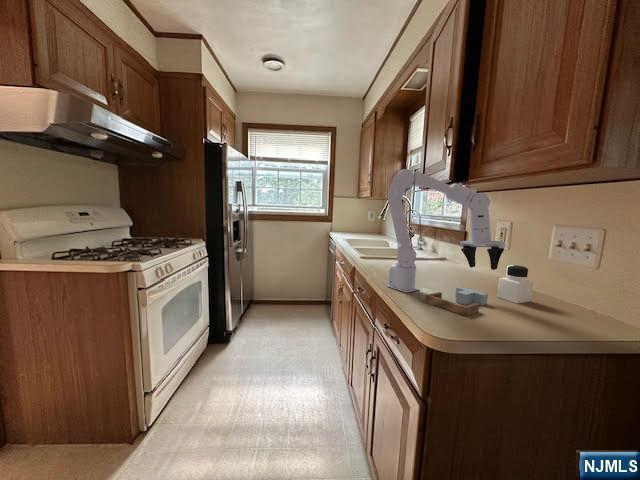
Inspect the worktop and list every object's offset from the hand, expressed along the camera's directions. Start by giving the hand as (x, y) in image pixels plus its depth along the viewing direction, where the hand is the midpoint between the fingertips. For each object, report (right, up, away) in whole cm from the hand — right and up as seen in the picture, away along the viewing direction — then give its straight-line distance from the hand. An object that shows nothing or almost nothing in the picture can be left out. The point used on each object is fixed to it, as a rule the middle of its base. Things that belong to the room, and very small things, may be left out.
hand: (483, 268), depth 93 cm
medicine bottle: (+12, -11, +2) cm, 17 cm away
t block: (-6, -11, -1) cm, 13 cm away
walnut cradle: (-15, -11, -8) cm, 20 cm away
